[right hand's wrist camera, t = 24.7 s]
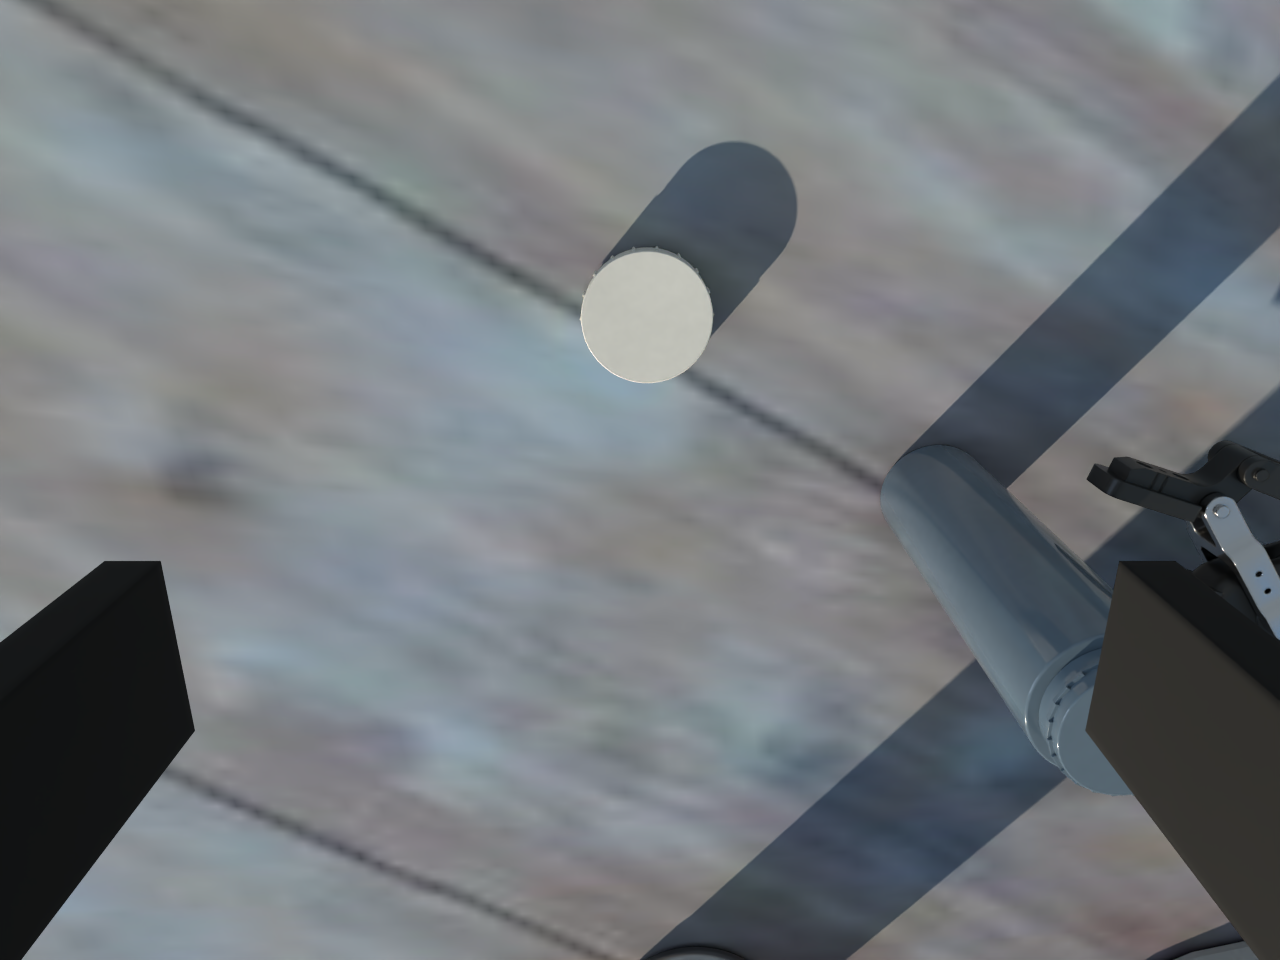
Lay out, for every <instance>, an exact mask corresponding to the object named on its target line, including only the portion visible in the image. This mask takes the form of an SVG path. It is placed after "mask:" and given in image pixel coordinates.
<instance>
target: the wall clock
mask: <svg viewBox="0 0 1280 960" xmlns="http://www.w3.org/2000/svg"><path fill="white" fill-rule="evenodd" d="M1174 960H1259V959H1258V958H1257V957H1256V955H1255V954H1254V953H1253V951H1252V950H1251V949H1250V947H1249V946H1248V945H1247V944H1246V942H1245V941H1243V942H1238V943H1233V944H1229V945H1224V946H1219V947H1214V948H1210V949H1205V950H1200V951H1195V952H1191V953H1189V954H1186V955H1184V956H1182V957H1179V958H1177V959H1174Z"/></svg>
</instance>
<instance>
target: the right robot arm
mask: <svg viewBox="0 0 1280 960" xmlns="http://www.w3.org/2000/svg"><path fill="white" fill-rule="evenodd" d="M194 731H195V729H194V724H193V719H192V714H191V709H190V704H189V699H188V694H187V689H186V684H185V679H184V674H183V670H182V665H181V660H180V655H179V650H178V645H177V640H176V635H175V630H174V625H173V620H172V615H171V610H170V605H169V600H168V595H167V590H166V585H165V580H164V575H163V570H162V565H161V561H104V562H103V563H102V564H100V565H99V566H98V567H97V568H95V569H94V570H93V571H91V572H90V573H89V574H88V575H86V576H85V577H84V578H82V579H81V580H80V581H79V582H77V583H76V584H75V585H73V586H72V587H71V588H70V589H68V590H67V591H66V592H64V593H63V594H62V595H61V596H59V597H58V598H57V599H56V600H54V601H53V602H52V603H50V604H49V605H48V606H47V607H45V608H44V609H43V610H41V611H40V612H39V613H38V614H36V615H35V616H34V617H32V618H31V619H30V620H29V621H27V622H26V623H25V624H23V625H22V626H21V627H20V628H18V629H17V630H16V631H14V632H13V633H12V634H11V635H9V636H8V637H7V638H5V639H4V640H3V641H2V642H0V960H21V959H22V958H23V957H24V955H25V954H26V953H27V951H28V950H29V949H30V947H31V946H32V945H33V944H34V942H35V941H36V940H37V938H38V937H39V936H40V934H41V933H42V932H43V930H44V929H45V928H46V926H47V925H48V924H49V922H50V921H51V920H52V918H53V917H54V916H55V915H56V913H57V912H58V911H59V909H60V908H61V907H62V905H63V904H64V903H65V901H66V900H67V899H68V897H69V896H70V895H71V893H72V892H73V891H74V889H75V888H76V887H77V886H78V884H79V883H80V882H81V880H82V879H83V878H84V876H85V875H86V874H87V872H88V871H89V870H90V868H91V867H92V866H93V864H94V863H95V862H96V860H97V859H98V858H99V856H100V855H101V854H102V853H103V851H104V850H105V849H106V847H107V846H108V845H109V843H110V842H111V841H112V839H113V838H114V837H115V835H116V834H117V833H118V831H119V830H120V829H121V827H122V826H123V825H124V824H125V822H126V821H127V820H128V818H129V817H130V816H131V814H132V813H133V812H134V810H135V809H136V808H137V806H138V805H139V804H140V802H141V801H142V800H143V798H144V797H145V796H146V794H147V793H148V792H149V791H150V789H151V788H152V787H153V785H154V784H155V783H156V781H157V780H158V779H159V777H160V776H161V775H162V773H163V772H164V771H165V769H166V768H167V767H168V765H169V764H170V763H171V762H172V760H173V759H174V758H175V756H176V755H177V754H178V752H179V751H180V750H181V748H182V747H183V746H184V744H185V743H186V742H187V740H188V739H189V738H190V736H191V735H192V734H193V733H194ZM1085 731H1086V733H1087V734H1088V735H1089V736H1090V738H1091V739H1092V740H1093V742H1094V743H1095V744H1096V746H1097V747H1098V748H1099V750H1100V751H1101V752H1102V754H1103V755H1104V756H1105V758H1106V759H1107V760H1108V762H1109V763H1110V764H1111V765H1112V767H1113V768H1114V769H1115V771H1116V772H1117V773H1118V775H1119V776H1120V777H1121V779H1122V780H1123V781H1124V783H1125V784H1126V785H1127V787H1128V788H1129V789H1130V791H1131V792H1132V793H1133V794H1134V796H1135V797H1136V798H1137V800H1138V801H1139V802H1140V804H1141V805H1142V806H1143V808H1144V809H1145V810H1146V812H1147V813H1148V814H1149V816H1150V817H1151V818H1152V820H1153V821H1154V822H1155V824H1156V825H1157V826H1158V827H1159V829H1160V830H1161V831H1162V833H1163V834H1164V835H1165V837H1166V838H1167V839H1168V841H1169V842H1170V843H1171V845H1172V846H1173V847H1174V849H1175V850H1176V851H1177V853H1178V854H1179V855H1180V856H1181V858H1182V859H1183V860H1184V862H1185V863H1186V864H1187V866H1188V867H1189V868H1190V870H1191V871H1192V872H1193V874H1194V875H1195V876H1196V878H1197V879H1198V880H1199V882H1200V883H1201V884H1202V886H1203V887H1204V888H1205V889H1206V891H1207V892H1208V893H1209V895H1210V896H1211V897H1212V899H1213V900H1214V901H1215V903H1216V904H1217V905H1218V907H1219V908H1220V909H1221V911H1222V912H1223V913H1224V915H1225V916H1226V917H1227V918H1228V920H1229V921H1230V922H1231V924H1232V925H1233V926H1234V928H1235V929H1236V930H1237V932H1238V933H1239V934H1240V936H1241V937H1242V938H1243V940H1244V941H1245V942H1246V944H1247V945H1248V946H1249V947H1250V949H1251V950H1252V951H1253V953H1254V954H1255V955H1256V957H1257V958H1258V959H1259V960H1280V642H1278V641H1277V640H1276V639H1275V638H1273V637H1272V636H1271V635H1269V634H1268V633H1267V632H1266V631H1264V630H1263V629H1262V628H1260V627H1259V626H1258V625H1257V624H1255V623H1254V622H1253V621H1251V620H1250V619H1249V618H1248V617H1246V616H1245V615H1244V614H1242V613H1241V612H1240V611H1239V610H1237V609H1236V608H1235V607H1233V606H1232V605H1231V604H1230V603H1228V602H1227V601H1226V600H1225V599H1223V598H1222V597H1221V596H1219V595H1218V594H1217V593H1216V592H1214V591H1213V590H1212V589H1210V588H1209V587H1208V586H1207V585H1205V584H1204V583H1203V582H1201V581H1200V580H1199V579H1198V578H1196V577H1195V576H1194V575H1192V574H1191V573H1190V572H1189V571H1187V570H1186V569H1185V568H1183V567H1182V566H1181V565H1180V564H1178V563H1177V562H1176V561H1119V565H1118V570H1117V575H1116V580H1115V585H1114V590H1113V595H1112V600H1111V605H1110V610H1109V615H1108V620H1107V625H1106V630H1105V635H1104V640H1103V645H1102V650H1101V655H1100V660H1099V665H1098V670H1097V674H1096V679H1095V684H1094V689H1093V694H1092V699H1091V704H1090V709H1089V714H1088V719H1087V724H1086V729H1085Z"/></svg>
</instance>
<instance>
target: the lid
mask: <svg viewBox="0 0 1280 960" xmlns="http://www.w3.org/2000/svg"><path fill="white" fill-rule="evenodd" d="M698 273H699V271H698V269H697V268H694V267H693V266H692V265H691V264H690V263H688V262H687V261H686V260H685V259H683V258H682V257H681V256H680V254H679V253H678V254H675V253H672V252H670V251H667V250H664V249H660V248H658V246H656V247H655V248H652V247H641V248H635V247H632V249H631V250H627V251H624V252H622V253H620V254H618V255H616V256H613V255H612V256H611V258H610V260H608V261H607V262H606V263H605V264H603V266H602V267H601V268H600V269H599V270H598V271H595V272H594V274H593V278H592V280H591V282H590V284H589V286H588V288H587V291H584V294H583V296H582V297H584V300H583V304H582V311H581V316H580V320H581V324H582V331H583V335H584V338H585V342H586V343H587V345H588V348H589V349H590V351H591V353H592V354H593V356H594V357H595V358H596V359H597V361H598V362H599V363H600V364H601V365H602V366H603V367H604V368H606V369H607V370H608V371H610V372H611V373H613V374H615V375H617V376H618V377H621V378H623V379H626V380H629V381H633V382H639V383H655V382H661V381H665V380H668V379H671V378H673V377H676V376H678V375H679V374H681V373H683V372H684V371H686V370H687V369H688V368H690V367H691V366H692V365H693V364H694V363H695V362H696V361H697V360H698V359H699V357H700V356H701V354H702V353H703V351H704V349H705V348H706V346H707V343H708V341H709V339H710V338H711V336H710V335H711V332H712V326H713V316H714V312H713V308H712V302H711V298H710V295H709V294H710V293H711V292H710V290H709V288H708V287H707V288H706V285H705V283H704V282H703V280H702V278H701V276H700V275H699V274H698Z"/></svg>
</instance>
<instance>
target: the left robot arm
mask: <svg viewBox="0 0 1280 960" xmlns="http://www.w3.org/2000/svg"><path fill="white" fill-rule="evenodd" d="M1087 480H1088V481H1089V482H1091V483H1092V484H1093V485H1095V486H1096V487H1097V488H1099V489H1100V490H1101V491H1103V492H1104V493H1106V494H1108V495H1110V496H1112V497H1115V498H1117V499H1120V500H1123V501H1126V502H1130V503H1133V504H1136V505H1139V506H1142V507H1145V508H1148V509H1152V510H1155V511H1158V512H1161V513H1164V514H1167V515H1170V516H1174V517H1177V518H1180V519H1183V520H1185V521H1186V523H1187V524H1188V527H1187V528H1186V529H1187V532H1188V534H1189V536H1190V538H1191V540H1192V541H1193V543H1194V545H1195V547H1196V549H1197V551H1198V553H1199V554H1200V556H1201V558H1202V560H1203V562H1204V563H1203V564H1202V565H1200V566H1199V567H1197V568H1196V569H1195V570H1194V571H1191V570H1188V569H1187V571H1189V572H1190V573H1191V574H1192V575H1194V576H1195V577H1196V578H1198V579H1199V580H1200V581H1201V582H1203V583H1204V584H1205V585H1207V586H1208V587H1209V588H1210V589H1212V590H1213V591H1214V592H1216V593H1217V594H1218V595H1219V596H1221V597H1222V598H1223V599H1225V600H1226V601H1227V602H1228V603H1230V604H1231V605H1232V606H1233V607H1235V608H1236V609H1237V610H1239V611H1240V612H1241V613H1242V614H1244V615H1245V616H1246V617H1248V618H1249V619H1250V620H1251V621H1253V622H1254V623H1255V624H1257V625H1258V626H1259V627H1260V628H1262V629H1263V630H1264V631H1266V632H1267V633H1268V634H1269V635H1271V636H1272V637H1273V638H1275V639H1276V640H1277V641H1278V642H1280V541H1277V542H1274V543H1270V544H1267V545H1263V546H1262V545H1261V543H1260V542H1259V541H1258V540H1257V539H1256V538H1255V537H1254V536H1253V535H1252V533H1251V531H1250V529H1249V527H1248V526H1247V524H1246V522H1245V520H1244V518H1243V516H1242V514H1241V512H1240V510H1239V508H1238V506H1237V504H1236V503H1237V502H1238V501H1239V500H1241V499H1242V498H1243V497H1244V496H1245V495H1246V494H1247V493H1248V492H1249V491H1250V490H1251V489H1254V490H1257V491H1259V492H1262V493H1264V494H1267V495H1269V496H1272V497H1274V498H1277V499H1279V500H1280V461H1278V460H1276V459H1273V458H1271V457H1268V456H1266V455H1263V454H1261V453H1258V452H1256V451H1253V450H1251V449H1248V448H1246V447H1244V446H1241V445H1239V444H1236V443H1234V442H1231V441H1221V442H1218V443H1217V444H1215V445H1214V446H1213V447H1212V448H1211V449H1210V451H1209V454H1208V462H1207V463H1206V464H1205V465H1204V466H1203V467H1202V468H1201V469H1200V470H1198V471H1196V472H1194V473H1191V474H1179V473H1176V472H1173V471H1170V470H1167V469H1164V468H1161V467H1158V466H1154V465H1151V464H1148V463H1145V462H1142V461H1139V460H1136V459H1133V458H1130V457H1117V458H1114V459H1113V461H1112V463H1111V464H1110V466H1109V467H1106V466H1103V465H1100V464H1094V466H1093V468H1092V470H1091V471H1090V473H1089V475H1088V477H1087ZM647 960H745V959H743V958H741V957H739V956H737V955H735V954H732V953H730V952H727V951H723V950H719V949H715V948H707V947H685V948H678V949H673V950H669V951H665V952H662V953H659V954H657V955H655V956H652V957H650V958H649V959H647Z"/></svg>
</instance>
